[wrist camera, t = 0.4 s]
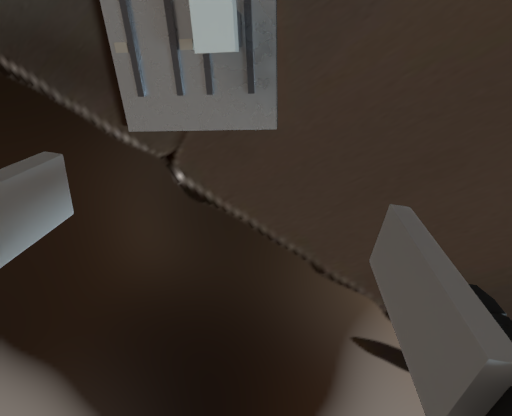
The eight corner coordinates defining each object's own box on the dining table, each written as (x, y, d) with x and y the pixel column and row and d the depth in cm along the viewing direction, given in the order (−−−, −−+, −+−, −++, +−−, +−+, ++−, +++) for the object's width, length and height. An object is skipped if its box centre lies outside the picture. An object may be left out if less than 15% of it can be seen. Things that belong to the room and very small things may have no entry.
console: (81, -135, 28) (61, -152, 26) (275, -159, 26) (273, -180, 24) (136, 128, 39) (126, 132, 36) (277, 125, 37) (276, 130, 34)
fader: (206, 8, 30) (188, -2, 25) (242, 6, 30) (231, -5, 24) (211, 54, 32) (194, 53, 26) (245, 52, 31) (235, 51, 26)
